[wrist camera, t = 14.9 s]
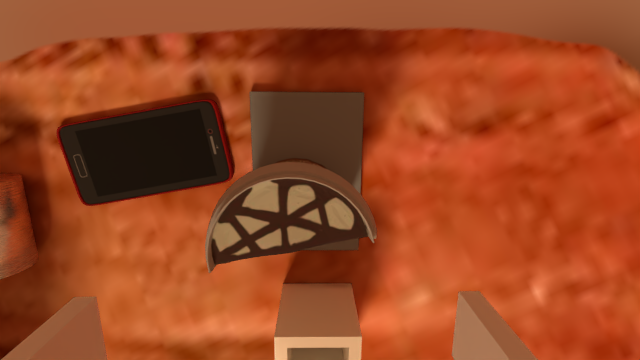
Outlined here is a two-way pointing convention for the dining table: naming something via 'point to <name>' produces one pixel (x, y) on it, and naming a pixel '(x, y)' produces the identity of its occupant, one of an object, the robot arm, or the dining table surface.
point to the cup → (317, 323)
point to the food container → (285, 212)
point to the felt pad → (310, 134)
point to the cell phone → (147, 152)
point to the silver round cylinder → (15, 227)
